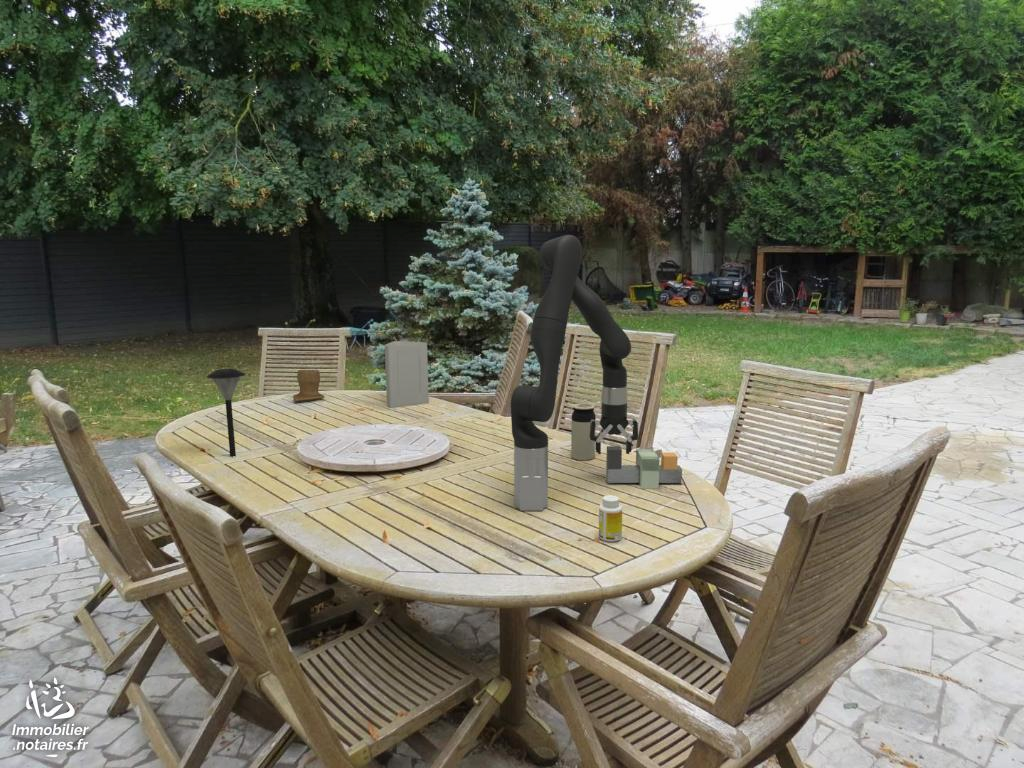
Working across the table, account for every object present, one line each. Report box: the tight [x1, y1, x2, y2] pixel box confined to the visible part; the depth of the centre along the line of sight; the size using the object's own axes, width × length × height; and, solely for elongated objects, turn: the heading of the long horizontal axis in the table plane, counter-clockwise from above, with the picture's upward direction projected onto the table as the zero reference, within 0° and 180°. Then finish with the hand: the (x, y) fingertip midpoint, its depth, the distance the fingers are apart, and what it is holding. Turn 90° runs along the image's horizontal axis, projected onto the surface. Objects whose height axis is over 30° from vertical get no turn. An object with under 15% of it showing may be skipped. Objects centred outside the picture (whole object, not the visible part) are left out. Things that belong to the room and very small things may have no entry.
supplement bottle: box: [598, 494, 623, 543], centre depth 166 cm, size 6×6×10 cm
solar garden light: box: [206, 368, 246, 457], centre depth 233 cm, size 12×12×30 cm
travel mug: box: [570, 402, 597, 461], centre depth 231 cm, size 8×8×18 cm
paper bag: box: [384, 340, 430, 409], centre depth 317 cm, size 19×15×28 cm
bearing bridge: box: [635, 448, 661, 490], centre depth 206 cm, size 11×5×9 cm, turn 179°
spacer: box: [660, 452, 678, 469], centre depth 206 cm, size 4×4×4 cm
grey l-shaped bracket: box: [605, 445, 683, 484], centre depth 206 cm, size 4×22×10 cm, turn 89°
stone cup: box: [292, 369, 325, 403], centre depth 325 cm, size 15×12×15 cm
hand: (613, 453), depth 206 cm, fingers open, 8 cm apart
